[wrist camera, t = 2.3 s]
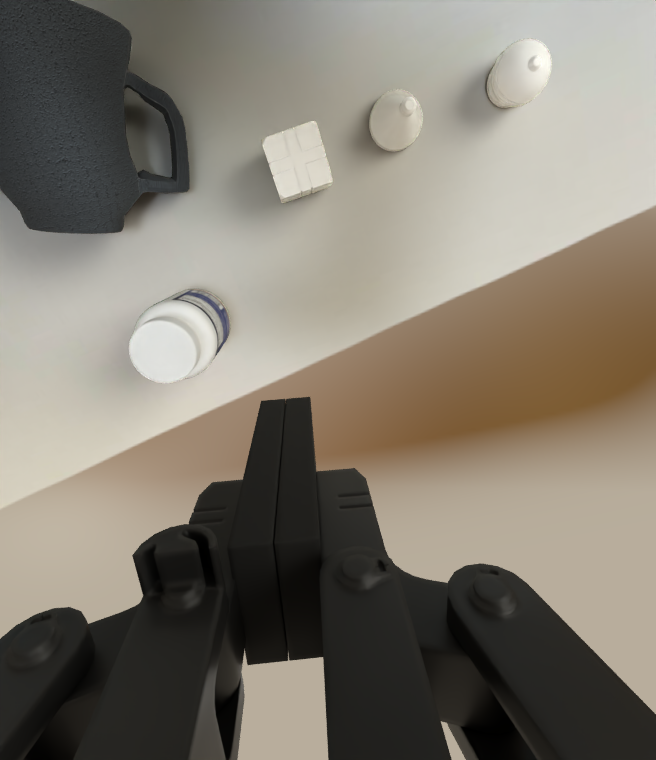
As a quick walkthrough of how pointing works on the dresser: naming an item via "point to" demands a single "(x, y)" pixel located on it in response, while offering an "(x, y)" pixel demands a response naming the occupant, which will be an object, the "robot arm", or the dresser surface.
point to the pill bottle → (179, 336)
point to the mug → (74, 119)
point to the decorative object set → (399, 120)
